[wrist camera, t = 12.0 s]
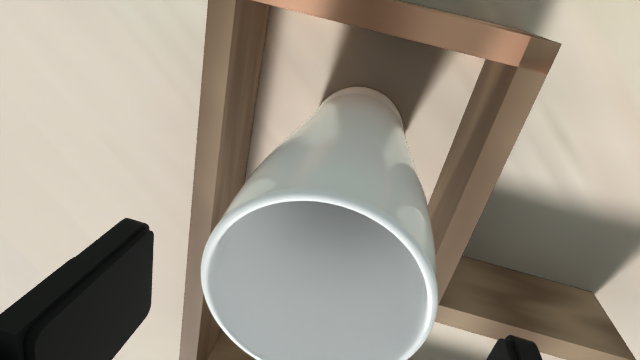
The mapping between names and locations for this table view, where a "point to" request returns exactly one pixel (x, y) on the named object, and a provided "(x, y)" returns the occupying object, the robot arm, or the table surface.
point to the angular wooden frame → (450, 191)
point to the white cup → (328, 243)
